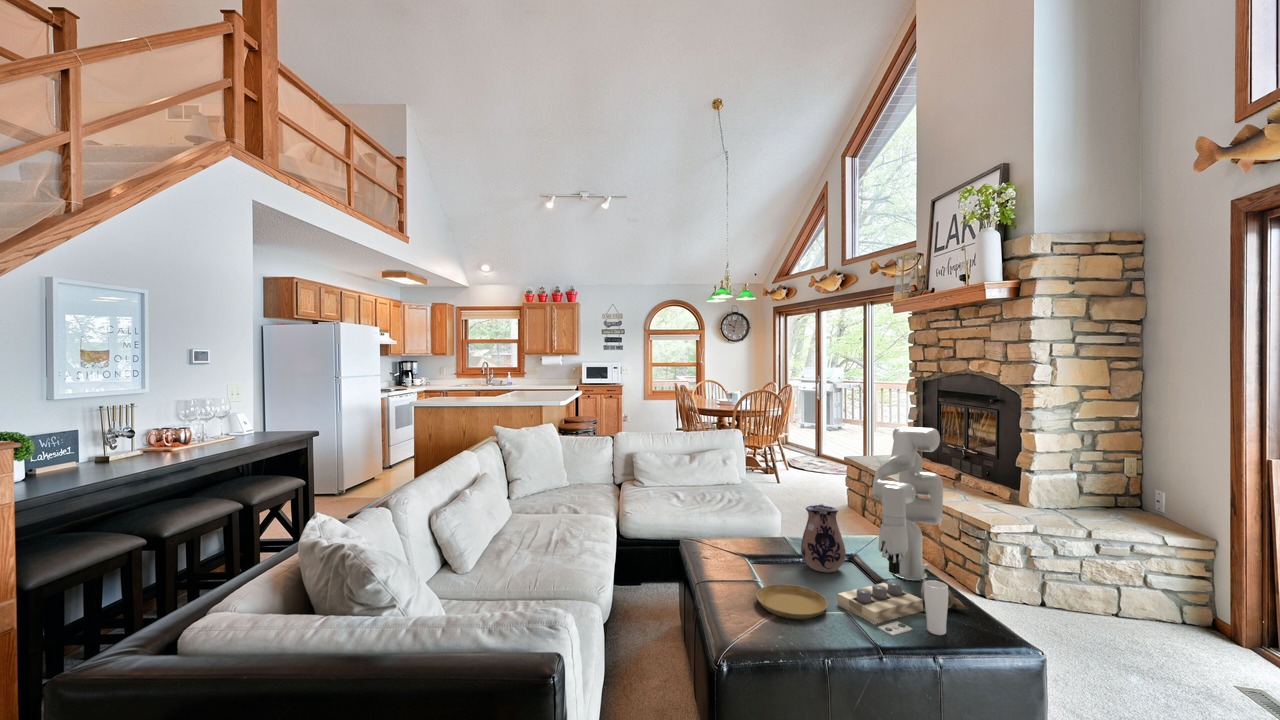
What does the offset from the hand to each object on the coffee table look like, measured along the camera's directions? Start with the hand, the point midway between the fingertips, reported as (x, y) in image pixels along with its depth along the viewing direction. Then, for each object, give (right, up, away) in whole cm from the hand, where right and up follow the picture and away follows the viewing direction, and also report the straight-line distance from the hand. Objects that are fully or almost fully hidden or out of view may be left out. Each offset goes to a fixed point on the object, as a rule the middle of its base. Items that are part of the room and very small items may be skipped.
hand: (894, 572), depth 190 cm
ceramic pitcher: (-13, -12, +36) cm, 40 cm away
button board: (-6, -11, -3) cm, 13 cm away
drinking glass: (+4, -11, -20) cm, 23 cm away
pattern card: (-8, -11, -18) cm, 23 cm away
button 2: (0, -9, 0) cm, 9 cm away
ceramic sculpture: (+15, -12, -2) cm, 19 cm away
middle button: (-6, -9, -3) cm, 11 cm away
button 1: (-13, -9, -6) cm, 17 cm away
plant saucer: (-37, -12, -1) cm, 39 cm away
